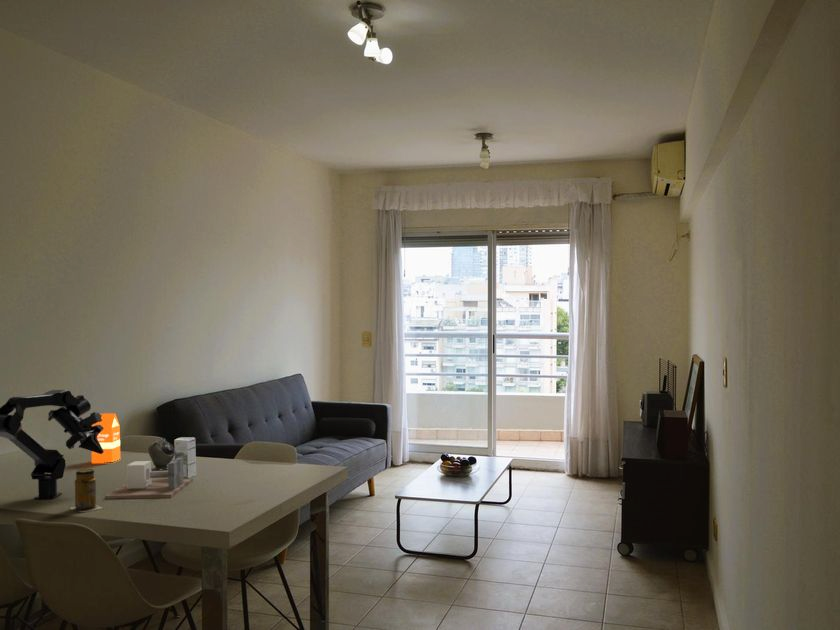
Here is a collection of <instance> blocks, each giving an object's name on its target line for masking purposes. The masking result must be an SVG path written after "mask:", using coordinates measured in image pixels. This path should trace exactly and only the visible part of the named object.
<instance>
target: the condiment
mask: <svg viewBox="0 0 840 630" xmlns="http://www.w3.org/2000/svg"><path fill="white" fill-rule="evenodd" d="M75 476H76V477H75V480H74V504H75V505H74V507H73V506H72V507H69V509H70V510H73V511H75V512H79V513H85V512H93V511H96V510H102V509H104V507H102V506H100V505H97V489H96V488H97V487H96V486H97V483H96V480H97V479H96V478H95V470H94V469H90V468H87V469H85V468H84V469H78V470H77V471H76V473H75ZM96 506H97V507H96Z"/></svg>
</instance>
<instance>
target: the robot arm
mask: <svg viewBox="0 0 840 630" xmlns="http://www.w3.org/2000/svg"><path fill="white" fill-rule="evenodd" d="M44 406H45V407H58V408H57V409H55V410H54V409H53V410H52V409H50V411H49V412H48V416H47V417H48V418H47V421H48V422H49V421H52V420H55V422H57V423H58V424H59V425H60V426H61V427H62V428H63V429H64V430H63V432H64V433H65V434H67V433H68V434H69V435H70V437H69V438H68V439H67V440H66V441H65V447H67V449H69V450H72V449H74V448H75V445H76V444H77V443H78V442H79V445H78V448H79V449H80V448H81V449H84V450H87V451H91V452H92V451H93V452H96V453H99V454H103V452H104V451H103V449H102V447H101V445H100V443H99V441H98V439H97V436H98V434H99V433H100V432H101V431H102V430H103V429H104V428H103V427H102V426H101V425H95V426H92V425H93V424H95V423H97V422H101V421H102V419H101V417H102V415H101V414H102V413H100V412H97V411H94V412H92V413H90V415H89V416H87V417H85V418H84V417H83V415H85V414H86V413H88V412H90V410H91V408H92V407H91V403H90V401H89V400H87V398H85V396H84V395H83V394H81V395H77V396H74V395H73V394H72V392H71V390H69V389H51V390H49V391H46V392H45V393H42V394H37V395H36V394H33V395H25V396H24V395H23V396H12V397H10V398H9V399H8V400H7V401H6V402H5V404H3V405H2V406H0V437H1V438H4V439H7V440H9V441H10V443H11V442H12V443H13V444H14V445H15V446H16V447H17V448H18V449H19V450H21V451H22V452H24V453H25V454H26V455H27V456H29V458H30V459H32V460H33V463H34V466H35V467H34V469H33V470H32V471H31V474H30V477H31V479H32V480H37V482H38V483H37V484H38V485H37V486H38V487H37V489H38V490H37V491H38V495H36V496H35V497H33V499H34V500H47V499H48V500H50V499H51V500H52V499H55V498H57V497H59V496H61V495H62V492H58V480H60V479H62V478H64V474H65V469H66V459H65V458H64V454H61V452H59V450H57V449H46V448H45V447H44V446H42V445H41V444H40V443H38V441H36V440H35V439H34V438H33V437H32V436H30V435H29V434H28V433H27V432H26V431H25V430H23V426H22V421H23V419H24V413H25V410H26V409H29V408H30V409H31V408H37V407H44ZM14 410H15V412H14ZM12 412H14V413H13V414H10V413H12Z"/></svg>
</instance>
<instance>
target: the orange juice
mask: <svg viewBox="0 0 840 630" xmlns="http://www.w3.org/2000/svg"><path fill="white" fill-rule="evenodd" d="M100 414H101V415H102V417H101V419H102V421H101V422H97V423H95V424H93V425H92V426H95V425H101V426H102V427H103V428H104V429H103V430H102V431H101V432H100V433H99V434H98V436H97V439H98V441H99V443H100V445H101V447H102V449H103V451H104V452H103V454H99V453H96V452H93V451H91V464H107V463H106V462H114V461H116V462H118V461H120V460H121V429H120V427H121V425H120V423H119V419H118V418H117V417H118V416H117V415H116V413H100ZM119 459H120V460H119ZM117 460H118V461H117ZM104 462H105V463H104ZM114 463H115V462H114Z"/></svg>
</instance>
